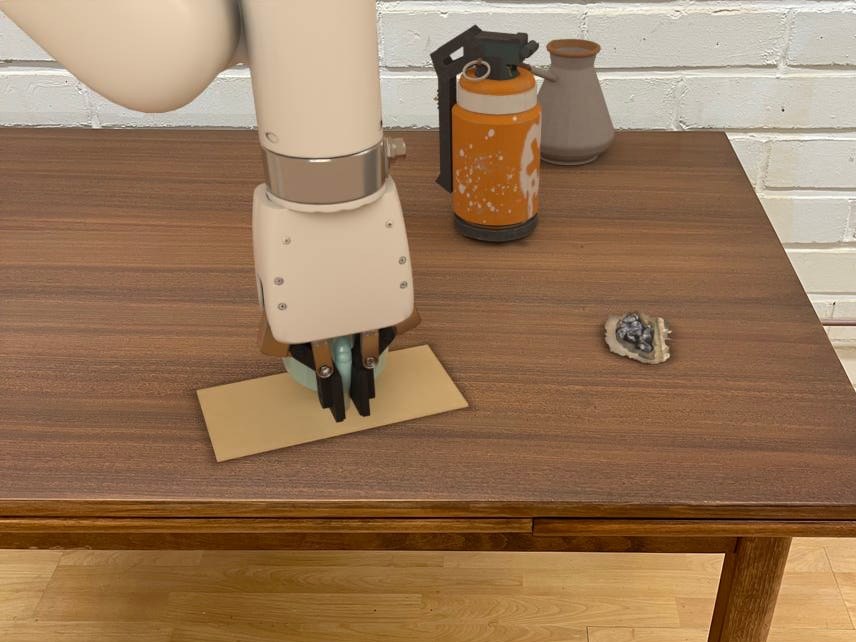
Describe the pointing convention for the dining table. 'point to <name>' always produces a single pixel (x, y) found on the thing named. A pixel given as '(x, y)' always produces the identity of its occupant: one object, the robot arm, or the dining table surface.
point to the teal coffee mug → (342, 360)
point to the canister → (489, 133)
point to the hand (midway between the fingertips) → (348, 408)
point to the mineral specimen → (638, 336)
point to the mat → (303, 414)
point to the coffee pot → (572, 104)
